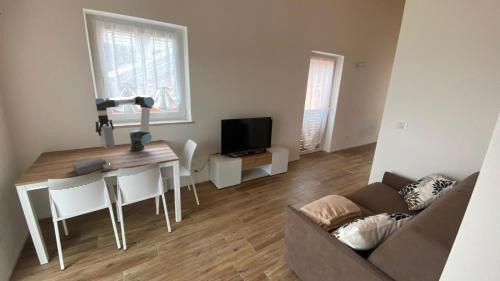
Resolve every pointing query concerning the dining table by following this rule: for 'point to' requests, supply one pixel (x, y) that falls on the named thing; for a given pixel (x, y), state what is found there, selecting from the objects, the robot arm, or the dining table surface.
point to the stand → (88, 165)
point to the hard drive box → (107, 137)
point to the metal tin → (107, 166)
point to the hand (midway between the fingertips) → (106, 137)
